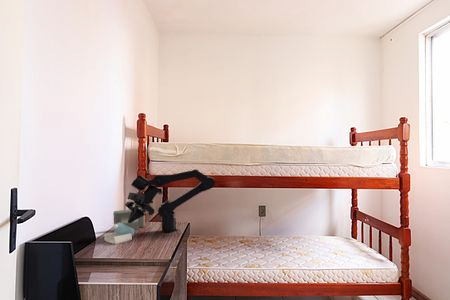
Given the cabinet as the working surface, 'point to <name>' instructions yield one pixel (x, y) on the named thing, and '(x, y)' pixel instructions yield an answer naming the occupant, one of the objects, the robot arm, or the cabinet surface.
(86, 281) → the cabinet surface
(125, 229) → the bottle
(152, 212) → the robot arm
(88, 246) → the cabinet surface
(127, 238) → the u rest
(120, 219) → the digital clock
